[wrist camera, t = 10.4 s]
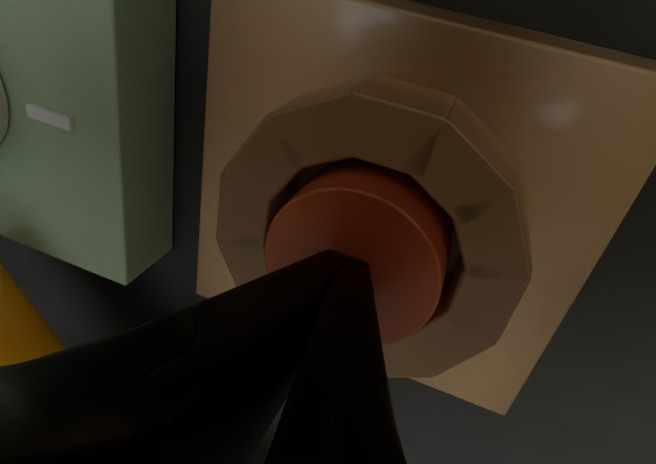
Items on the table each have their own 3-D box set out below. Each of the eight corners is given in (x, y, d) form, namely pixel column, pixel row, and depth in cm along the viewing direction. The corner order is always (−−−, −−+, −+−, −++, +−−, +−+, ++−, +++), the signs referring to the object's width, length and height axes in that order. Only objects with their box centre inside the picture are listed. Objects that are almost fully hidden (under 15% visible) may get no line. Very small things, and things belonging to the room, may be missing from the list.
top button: (285, 269, 12) (254, 310, 11) (309, 135, 10) (274, 163, 9) (424, 320, 11) (410, 372, 10) (477, 187, 9) (469, 226, 8)
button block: (230, 258, 16) (158, 331, 13) (258, -37, 12) (156, -40, 8) (506, 361, 15) (504, 476, 11) (670, 63, 10) (751, 109, 7)
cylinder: (365, 475, 19) (163, 144, 15) (247, 881, 11) (-300, 363, 7) (164, 487, 25) (-22, 248, 21) (-20, 756, 16) (-400, 440, 12)
